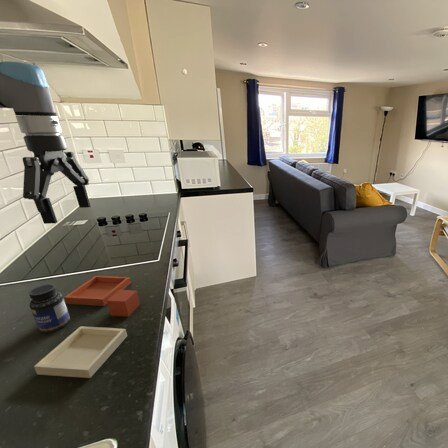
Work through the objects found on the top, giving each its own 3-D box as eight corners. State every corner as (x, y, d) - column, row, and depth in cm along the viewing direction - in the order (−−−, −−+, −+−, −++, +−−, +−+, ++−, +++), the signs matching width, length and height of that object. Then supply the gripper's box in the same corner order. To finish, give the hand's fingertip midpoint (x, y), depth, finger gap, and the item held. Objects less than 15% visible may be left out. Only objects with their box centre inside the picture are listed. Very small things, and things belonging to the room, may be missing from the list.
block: (111, 315, 72) (106, 300, 70) (123, 303, 76) (119, 289, 75) (128, 316, 71) (124, 301, 70) (140, 304, 76) (136, 290, 74)
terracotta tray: (66, 303, 76) (63, 297, 75) (97, 281, 87) (95, 275, 86) (104, 306, 75) (102, 299, 75) (130, 283, 86) (129, 277, 85)
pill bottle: (32, 333, 65) (16, 297, 61) (53, 317, 71) (39, 282, 67) (58, 333, 65) (43, 297, 61) (77, 316, 71) (64, 282, 67)
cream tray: (37, 374, 55) (33, 366, 54) (82, 333, 66) (80, 326, 65) (90, 378, 54) (87, 370, 53) (127, 336, 65) (125, 328, 64)
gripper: (15, 137, 54) (49, 230, 62) (90, 132, 78) (108, 201, 85) (-26, 136, 54) (14, 232, 61) (63, 132, 77) (84, 202, 84)
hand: (69, 214), depth 73 cm, fingers open, 13 cm apart
